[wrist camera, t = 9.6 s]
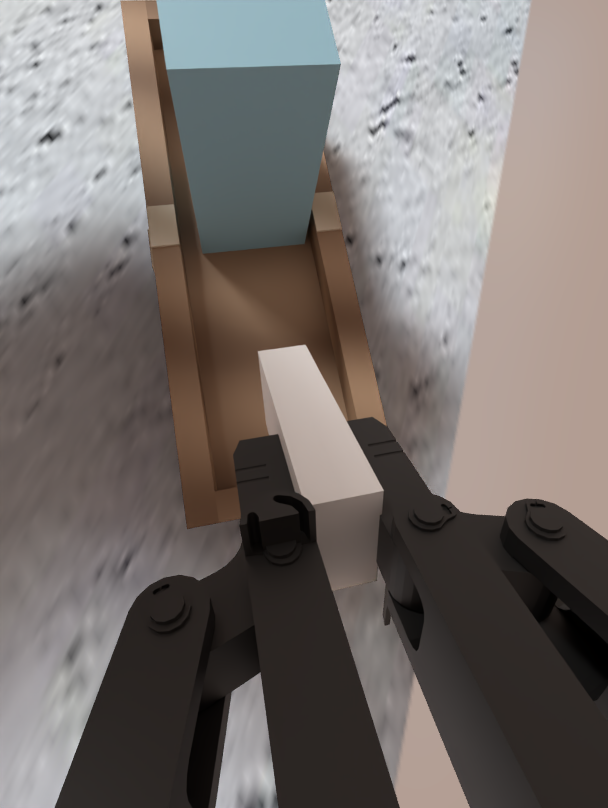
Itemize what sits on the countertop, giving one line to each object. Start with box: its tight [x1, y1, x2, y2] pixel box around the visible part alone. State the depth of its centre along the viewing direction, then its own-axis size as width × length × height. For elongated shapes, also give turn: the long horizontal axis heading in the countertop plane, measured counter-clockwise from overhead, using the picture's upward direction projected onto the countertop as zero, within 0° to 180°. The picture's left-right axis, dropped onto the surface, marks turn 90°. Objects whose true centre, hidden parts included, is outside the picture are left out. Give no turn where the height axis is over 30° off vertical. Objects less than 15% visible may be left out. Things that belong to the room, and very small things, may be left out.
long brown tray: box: [121, 0, 387, 529], centre depth 23 cm, size 26×9×7 cm, turn 11°
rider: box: [156, 0, 341, 254], centre depth 17 cm, size 5×5×9 cm
